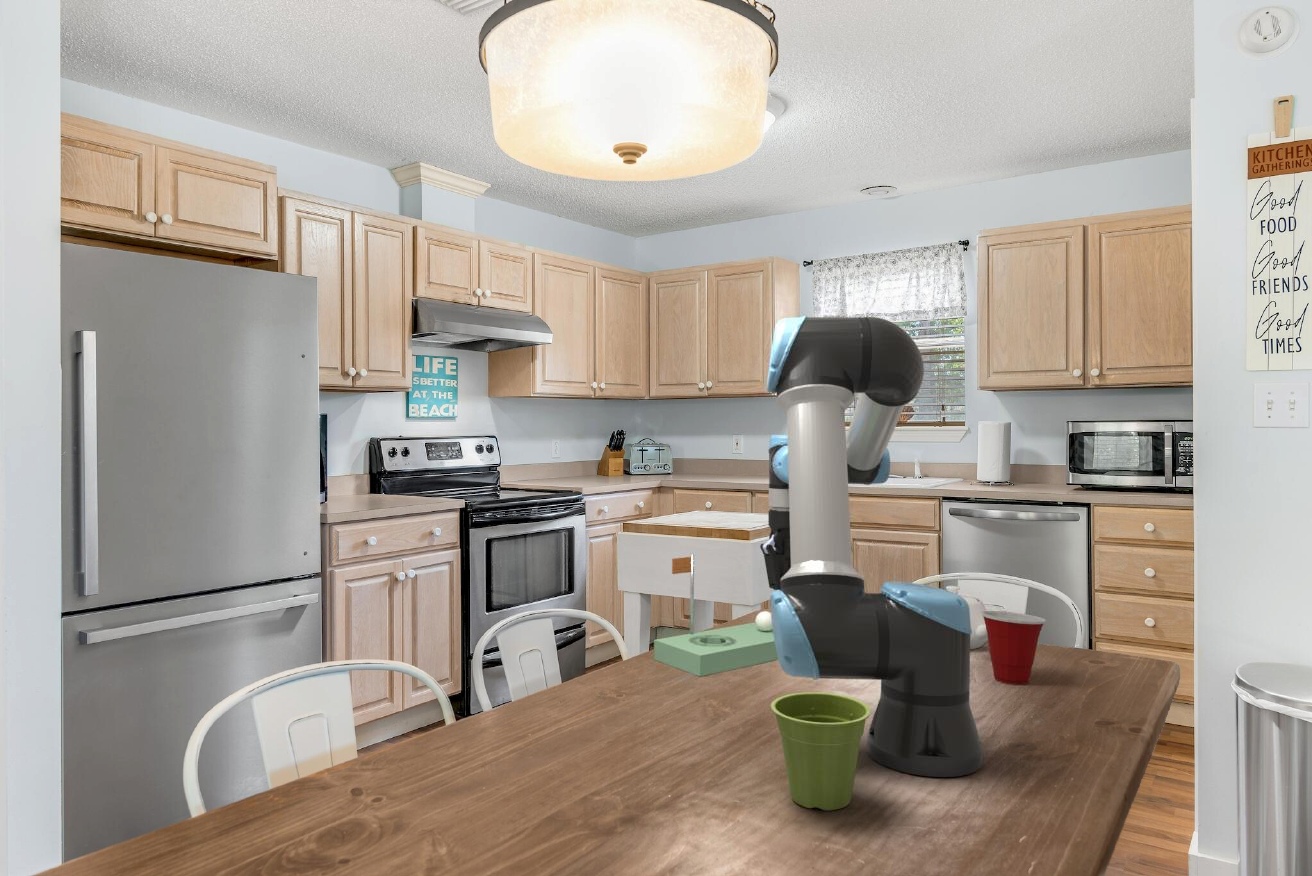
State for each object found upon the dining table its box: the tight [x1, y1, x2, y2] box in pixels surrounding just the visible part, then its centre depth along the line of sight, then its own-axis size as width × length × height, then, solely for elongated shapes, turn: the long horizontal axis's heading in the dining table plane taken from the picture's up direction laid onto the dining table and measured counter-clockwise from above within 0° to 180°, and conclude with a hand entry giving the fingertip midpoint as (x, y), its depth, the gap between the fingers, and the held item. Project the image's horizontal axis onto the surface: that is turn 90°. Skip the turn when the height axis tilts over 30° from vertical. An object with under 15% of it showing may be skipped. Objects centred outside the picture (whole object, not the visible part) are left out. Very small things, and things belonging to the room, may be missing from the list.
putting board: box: [653, 622, 779, 677], centre depth 169 cm, size 32×14×4 cm, turn 127°
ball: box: [755, 610, 772, 631], centre depth 174 cm, size 4×4×4 cm
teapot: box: [945, 585, 1009, 650], centre depth 179 cm, size 25×16×12 cm, turn 30°
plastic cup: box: [982, 610, 1047, 686], centre depth 154 cm, size 11×11×12 cm
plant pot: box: [770, 691, 872, 812], centre depth 103 cm, size 12×12×11 cm
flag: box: [671, 553, 695, 635], centre depth 169 cm, size 5×1×16 cm, turn 127°
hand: (785, 622), depth 177 cm, fingers closed
